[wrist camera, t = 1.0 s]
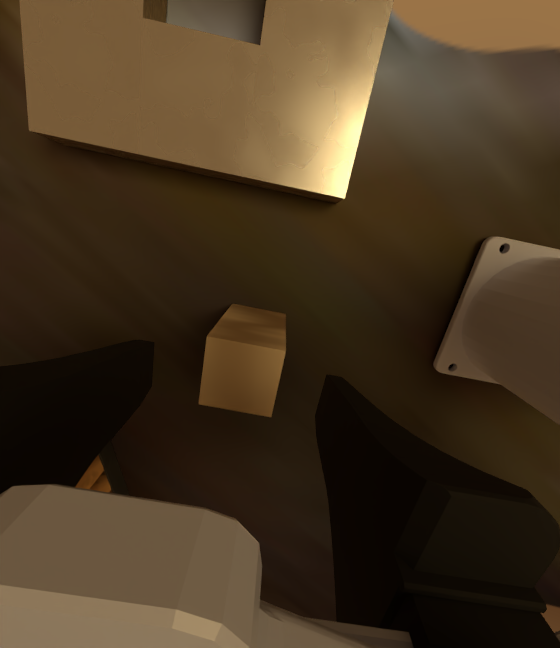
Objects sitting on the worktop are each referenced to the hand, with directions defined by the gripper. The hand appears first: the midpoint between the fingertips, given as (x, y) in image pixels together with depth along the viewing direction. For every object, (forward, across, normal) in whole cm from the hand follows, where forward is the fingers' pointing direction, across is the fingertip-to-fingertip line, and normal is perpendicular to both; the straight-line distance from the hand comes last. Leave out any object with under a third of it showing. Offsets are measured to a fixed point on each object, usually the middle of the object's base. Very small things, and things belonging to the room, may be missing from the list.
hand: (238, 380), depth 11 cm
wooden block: (+6, 0, 0) cm, 6 cm away
